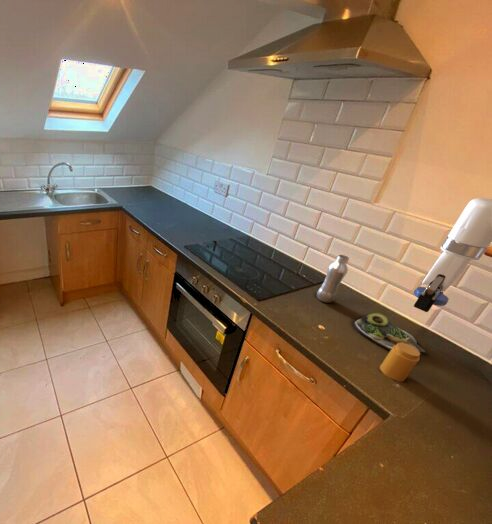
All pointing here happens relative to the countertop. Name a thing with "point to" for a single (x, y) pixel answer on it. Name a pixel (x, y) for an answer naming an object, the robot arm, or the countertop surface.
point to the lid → (440, 299)
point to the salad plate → (384, 331)
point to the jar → (400, 361)
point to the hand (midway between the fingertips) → (424, 304)
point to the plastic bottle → (333, 279)
